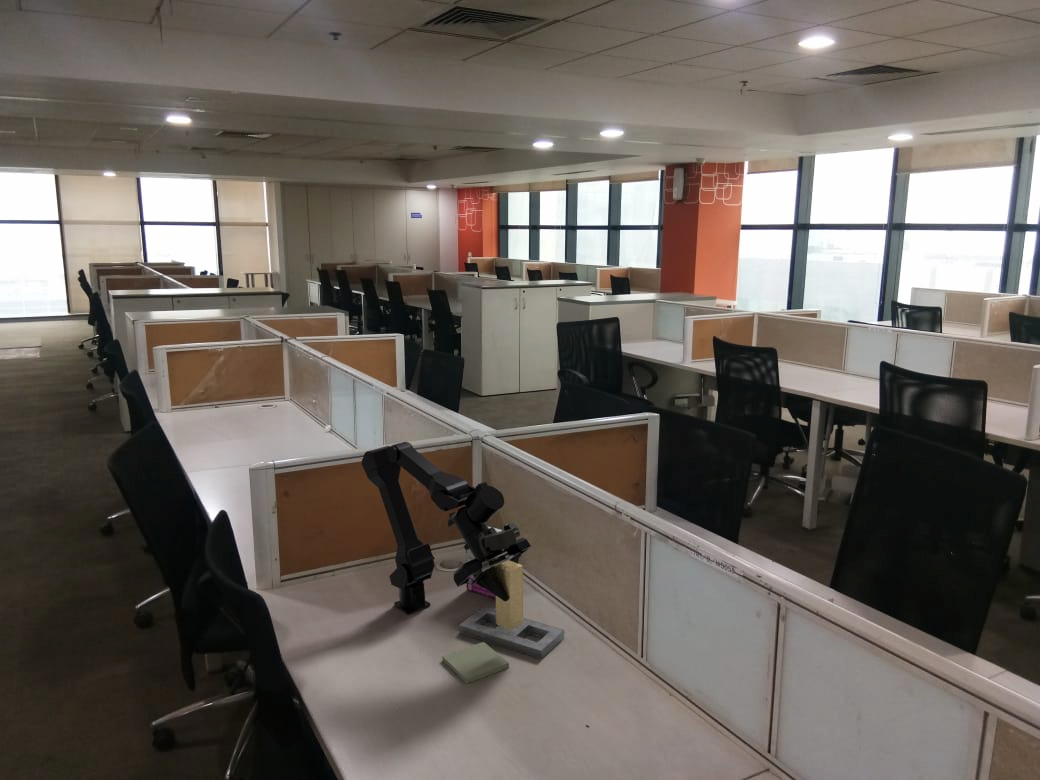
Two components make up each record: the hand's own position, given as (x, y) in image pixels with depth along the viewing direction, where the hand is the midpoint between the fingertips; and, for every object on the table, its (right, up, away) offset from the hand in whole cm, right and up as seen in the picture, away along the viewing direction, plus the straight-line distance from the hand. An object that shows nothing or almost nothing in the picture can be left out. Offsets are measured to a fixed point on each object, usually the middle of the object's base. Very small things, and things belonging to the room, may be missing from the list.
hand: (514, 596), depth 160 cm
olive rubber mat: (-8, -14, 0) cm, 16 cm away
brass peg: (-1, -6, +2) cm, 7 cm away
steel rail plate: (-1, -11, +11) cm, 16 cm away
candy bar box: (-6, -7, +31) cm, 32 cm away
